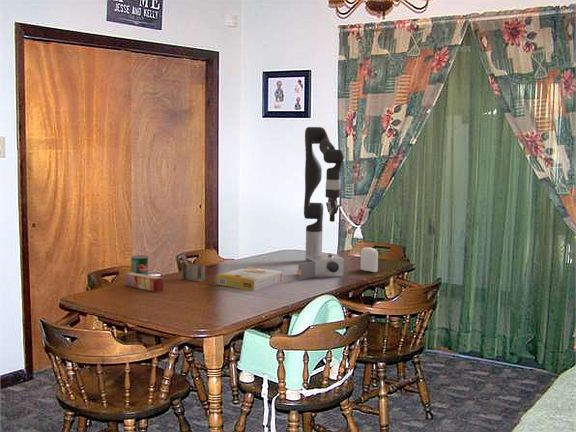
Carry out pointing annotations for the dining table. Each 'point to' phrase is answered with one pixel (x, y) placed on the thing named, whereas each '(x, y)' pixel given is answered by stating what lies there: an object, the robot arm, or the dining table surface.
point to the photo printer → (369, 259)
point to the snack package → (144, 282)
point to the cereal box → (249, 278)
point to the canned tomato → (139, 264)
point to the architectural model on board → (193, 272)
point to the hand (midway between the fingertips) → (332, 221)
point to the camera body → (327, 265)
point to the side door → (306, 270)
